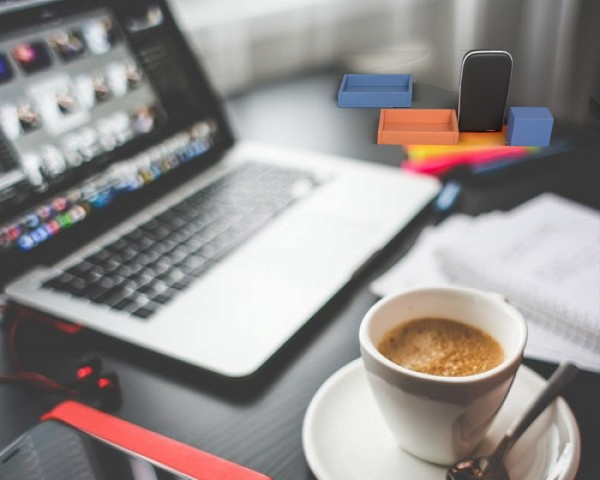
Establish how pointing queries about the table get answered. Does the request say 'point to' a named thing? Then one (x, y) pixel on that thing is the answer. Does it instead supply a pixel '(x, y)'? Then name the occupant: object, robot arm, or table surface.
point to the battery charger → (484, 89)
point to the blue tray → (375, 90)
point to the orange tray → (418, 127)
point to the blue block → (529, 126)
